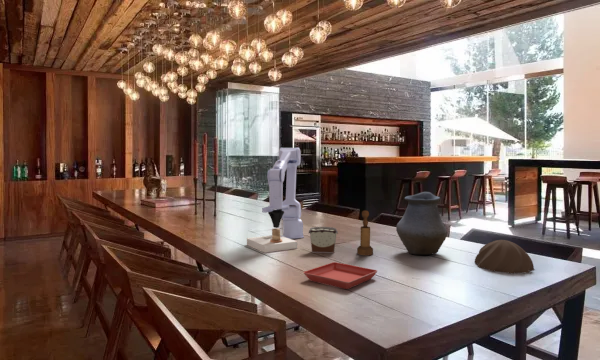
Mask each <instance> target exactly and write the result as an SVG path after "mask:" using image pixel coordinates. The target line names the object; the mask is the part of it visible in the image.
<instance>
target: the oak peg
mask: <svg viewBox="0 0 600 360" xmlns="http://www.w3.org/2000/svg"><path fill="white" fill-rule="evenodd" d="M271 235H272V239H271V240H270V242H272V243H280V242H282V239H280V236H281V228H274V227H273V228H272V229H271Z"/></svg>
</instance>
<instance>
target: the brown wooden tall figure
mask: <svg viewBox="0 0 600 360" xmlns="http://www.w3.org/2000/svg"><path fill="white" fill-rule="evenodd" d="M369 216H370V213H369V211H368V210H366V209H364V210H362V211H361V217H362V218H363V221H362V225H363V226H360V241H359V244H360V245H359V246H358V247H357V248H356V252H357V253H356V254H357V255H361V256H373V254H374V248H373V247H372V246H371V245H370V244H371V227H370V226H369V225H368V224H369V221H368V218H369Z"/></svg>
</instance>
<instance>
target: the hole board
mask: <svg viewBox="0 0 600 360" xmlns="http://www.w3.org/2000/svg"><path fill="white" fill-rule="evenodd" d="M271 239H272V234H271V235H265V236H254V237H247V238H246V245H247V246H249V247H251V248H253V249H255V250H257V251H260V252H261V253H271V252H280V251H287V250H295V249H298V240H294V239H289V238H286V237H283V236H282V235H280V239H282V242H280V243H272V242H270V240H271Z"/></svg>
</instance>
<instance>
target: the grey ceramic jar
mask: <svg viewBox="0 0 600 360" xmlns="http://www.w3.org/2000/svg"><path fill="white" fill-rule="evenodd" d="M404 200H405V201H407V207H406V209H405V211H404V214H403V216H402V218H401V219H400V220H399V221H398V222H397V224H396V227H395V228H396V233H397V235H398V237H399V239H400V241H401V242H402V245H403V246H404V247H405V249H406V251H407V253H409V254H410V255H419V256H429V255H435V254H437V253H438V252H439V250H440V249H441V247H442V245H443V244H444V242H445V241H446V238H447V236H448V230H447V228H446V226H445V224H444V223H443V221H442V218H441V215H440V212H439V206H438V203H439V201H440V200H441V197H440V196H437V195H435V194H433V193H432V192H430V191H421V192H418V193H416V194H412V195H407V196H405V197H404Z"/></svg>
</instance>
